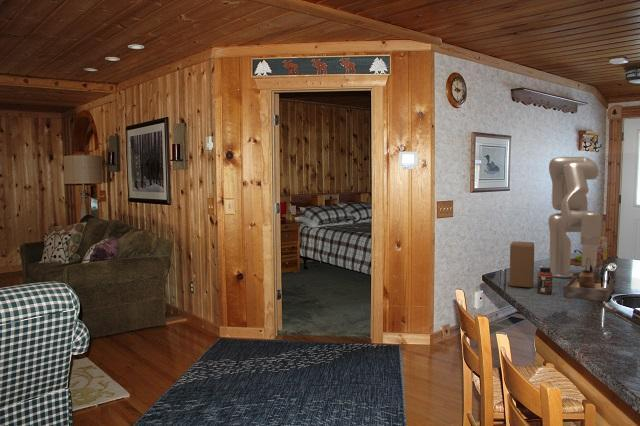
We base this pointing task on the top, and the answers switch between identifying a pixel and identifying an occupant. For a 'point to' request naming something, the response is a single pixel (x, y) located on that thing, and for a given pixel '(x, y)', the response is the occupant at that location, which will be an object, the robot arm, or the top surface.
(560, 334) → the top surface
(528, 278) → the wooden block
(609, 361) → the top surface
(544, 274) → the supplement bottle
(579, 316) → the top surface
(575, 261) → the plant
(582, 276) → the walnut block
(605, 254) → the candy box
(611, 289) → the box
